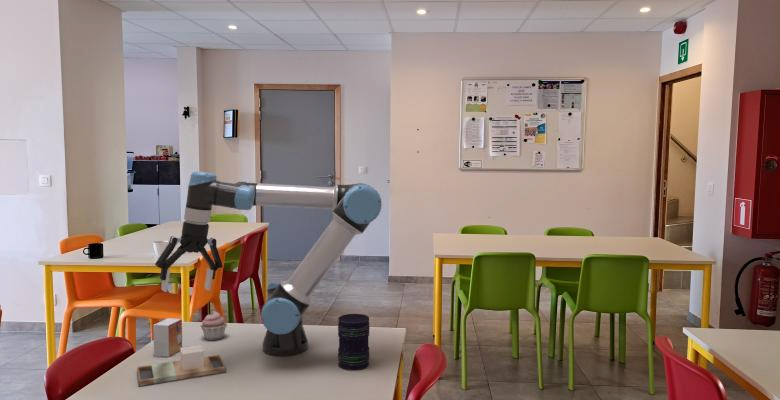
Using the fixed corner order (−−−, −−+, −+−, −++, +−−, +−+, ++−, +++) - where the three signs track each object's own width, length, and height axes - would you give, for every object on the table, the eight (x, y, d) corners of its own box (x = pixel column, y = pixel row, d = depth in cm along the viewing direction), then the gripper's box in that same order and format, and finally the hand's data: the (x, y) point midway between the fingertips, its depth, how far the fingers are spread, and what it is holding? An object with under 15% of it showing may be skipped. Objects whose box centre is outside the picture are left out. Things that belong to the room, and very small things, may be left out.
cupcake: (195, 337, 197) (195, 310, 197) (220, 332, 204) (219, 305, 203) (207, 344, 190) (206, 315, 190) (232, 338, 197) (231, 311, 196)
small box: (168, 357, 177) (168, 325, 177) (153, 356, 178) (152, 324, 178) (182, 349, 185) (182, 318, 184) (168, 348, 186) (167, 317, 186)
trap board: (219, 359, 176) (219, 354, 176) (226, 372, 165) (226, 367, 165) (137, 372, 165) (137, 367, 165) (138, 386, 154) (138, 381, 154)
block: (201, 360, 170) (200, 345, 170) (203, 367, 165) (203, 351, 164) (180, 363, 167) (180, 347, 167) (182, 370, 162) (182, 354, 162)
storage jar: (353, 373, 165) (353, 324, 164) (331, 365, 172) (331, 318, 171) (376, 364, 172) (376, 317, 171) (354, 356, 179) (354, 311, 178)
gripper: (228, 222, 178) (218, 285, 180) (150, 217, 161) (140, 287, 162) (239, 226, 173) (229, 292, 174) (159, 222, 156) (149, 294, 157)
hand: (186, 290), depth 168 cm, fingers open, 13 cm apart
